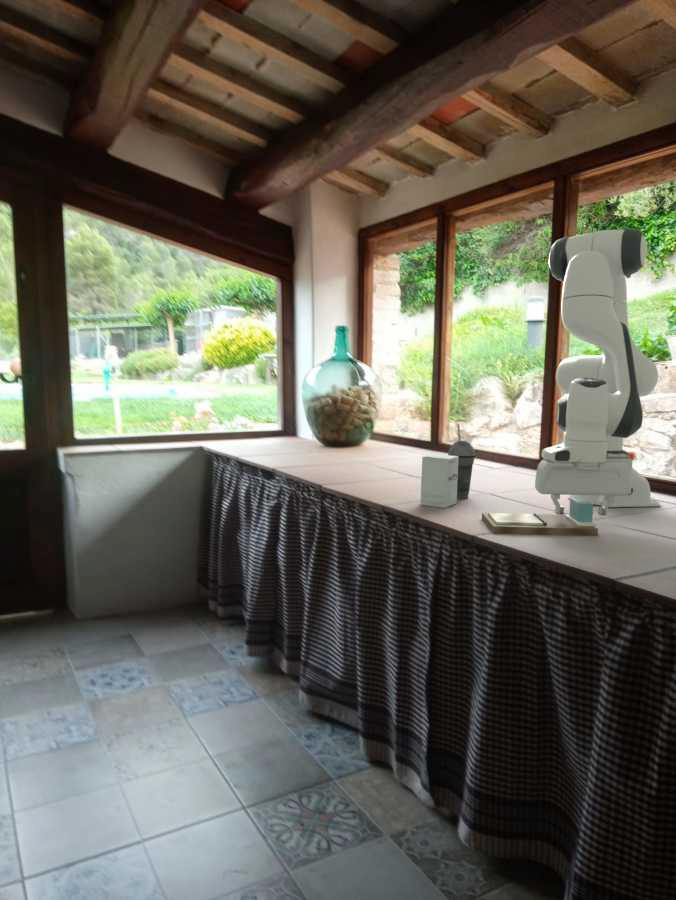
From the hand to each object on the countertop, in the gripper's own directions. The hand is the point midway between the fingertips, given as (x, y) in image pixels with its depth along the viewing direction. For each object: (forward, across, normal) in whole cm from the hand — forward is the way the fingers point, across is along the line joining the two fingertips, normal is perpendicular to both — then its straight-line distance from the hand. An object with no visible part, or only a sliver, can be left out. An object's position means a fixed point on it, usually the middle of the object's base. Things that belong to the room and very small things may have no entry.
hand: (580, 514), depth 143 cm
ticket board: (+3, +10, 0) cm, 11 cm away
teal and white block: (+2, 0, 0) cm, 2 cm away
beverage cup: (+3, +22, -32) cm, 39 cm away
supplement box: (+3, +28, -22) cm, 36 cm away
